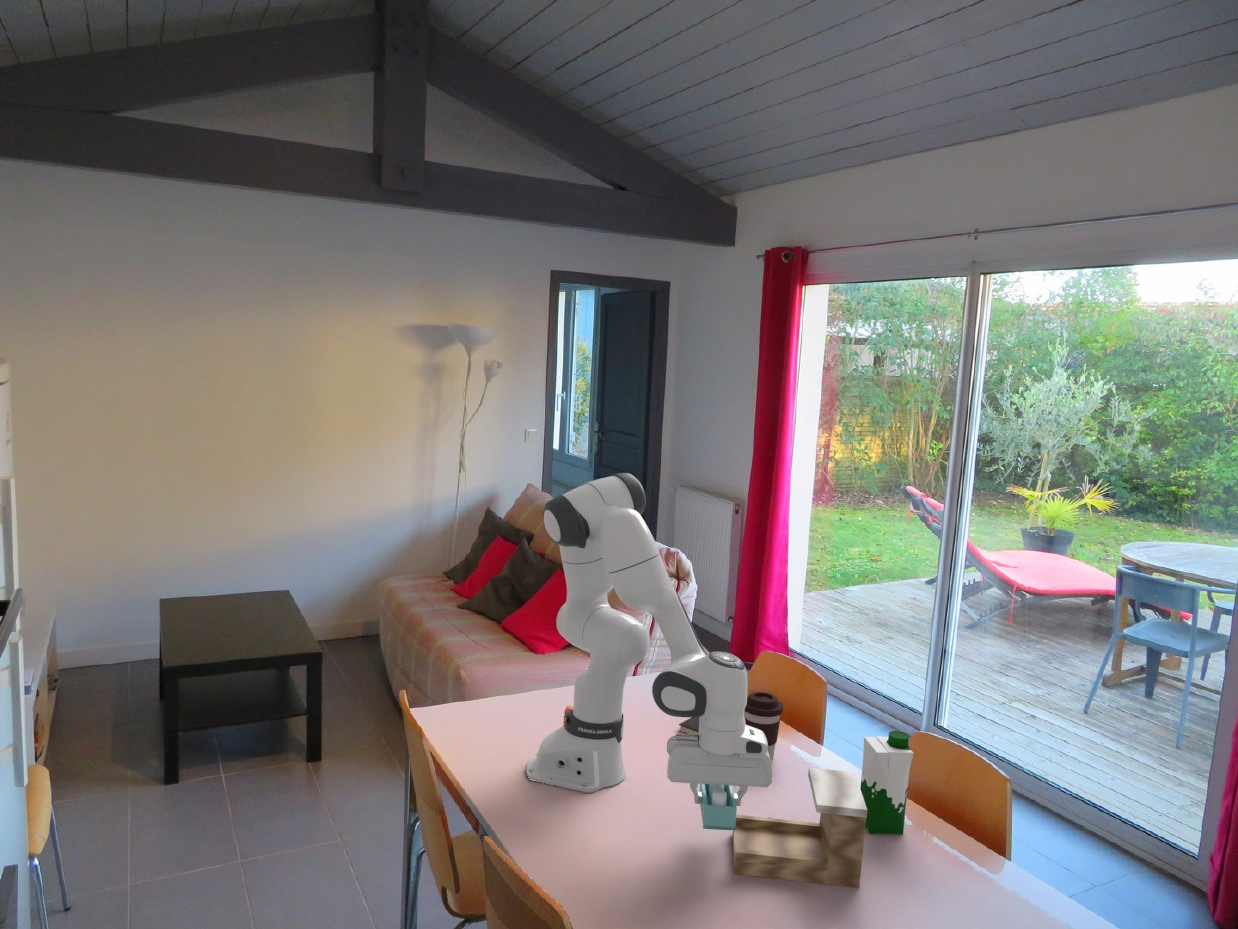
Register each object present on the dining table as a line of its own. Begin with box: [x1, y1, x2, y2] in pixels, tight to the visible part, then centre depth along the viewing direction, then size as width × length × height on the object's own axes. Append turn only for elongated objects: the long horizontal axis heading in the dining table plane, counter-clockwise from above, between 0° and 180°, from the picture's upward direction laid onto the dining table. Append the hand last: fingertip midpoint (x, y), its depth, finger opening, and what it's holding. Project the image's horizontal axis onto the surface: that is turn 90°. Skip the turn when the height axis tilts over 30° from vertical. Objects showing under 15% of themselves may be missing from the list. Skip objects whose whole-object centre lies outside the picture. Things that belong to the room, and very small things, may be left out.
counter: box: [732, 767, 867, 889], centre depth 172 cm, size 23×15×16 cm, turn 84°
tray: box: [699, 784, 738, 831], centre depth 175 cm, size 12×6×6 cm, turn 179°
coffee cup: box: [744, 691, 784, 761], centre depth 217 cm, size 10×10×15 cm
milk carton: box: [860, 730, 914, 835], centre depth 187 cm, size 9×9×20 cm
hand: (717, 803), depth 175 cm, fingers closed on tray, 6 cm apart
